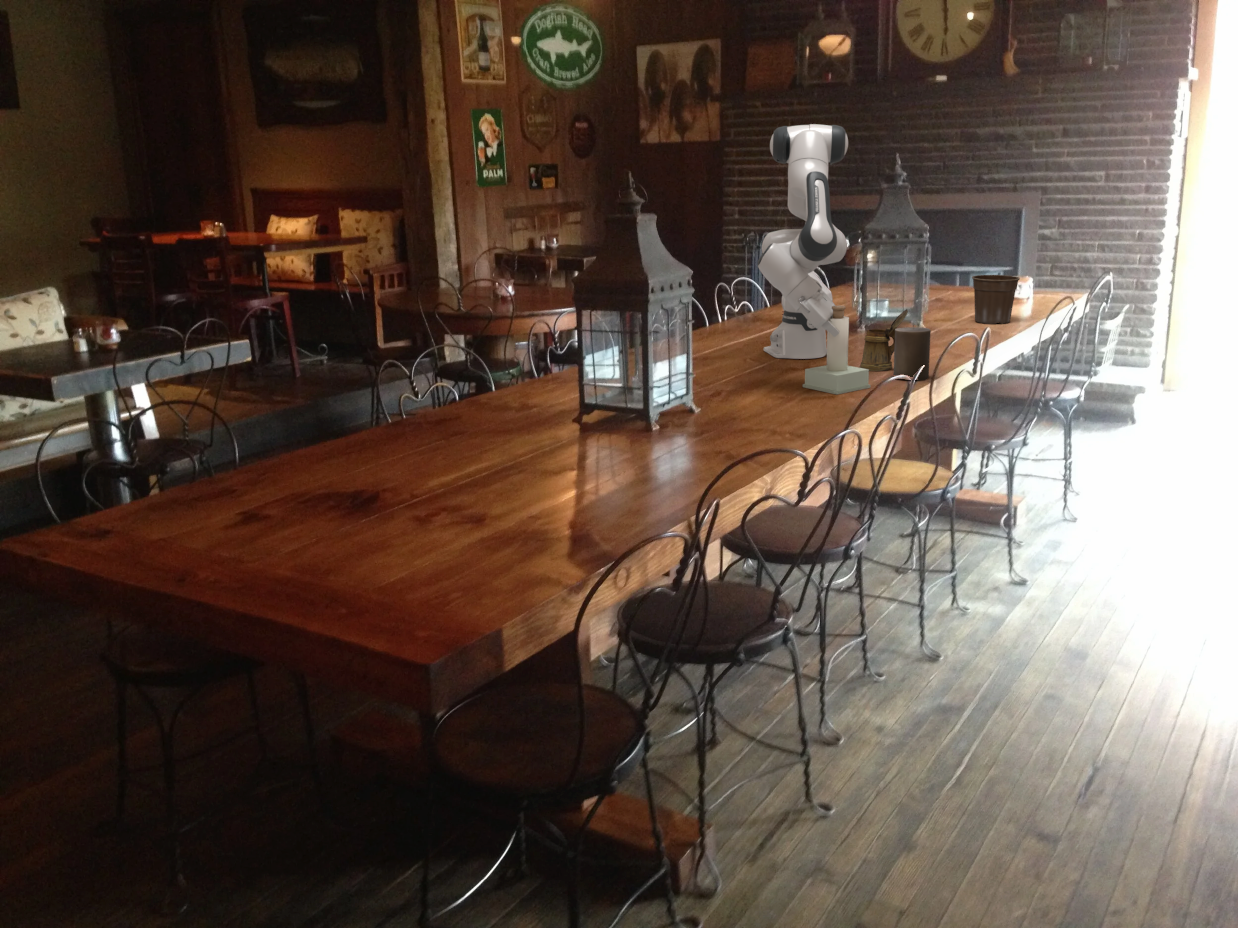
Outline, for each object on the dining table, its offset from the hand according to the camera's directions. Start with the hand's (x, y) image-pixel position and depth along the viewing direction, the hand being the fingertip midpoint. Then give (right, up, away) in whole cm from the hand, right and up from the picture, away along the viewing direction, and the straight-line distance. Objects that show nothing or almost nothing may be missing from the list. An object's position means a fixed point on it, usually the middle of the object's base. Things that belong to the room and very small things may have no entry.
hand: (840, 332), depth 301 cm
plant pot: (+76, +16, +104) cm, 130 cm away
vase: (+9, +15, +109) cm, 110 cm away
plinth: (0, -15, +4) cm, 15 cm away
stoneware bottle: (0, -10, +3) cm, 10 cm away
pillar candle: (+23, -11, +14) cm, 29 cm away
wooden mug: (+18, -8, +27) cm, 33 cm away
